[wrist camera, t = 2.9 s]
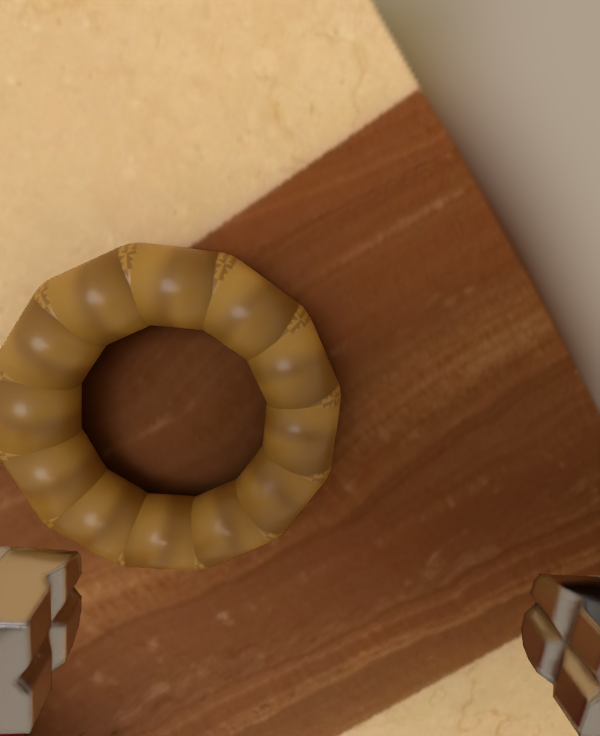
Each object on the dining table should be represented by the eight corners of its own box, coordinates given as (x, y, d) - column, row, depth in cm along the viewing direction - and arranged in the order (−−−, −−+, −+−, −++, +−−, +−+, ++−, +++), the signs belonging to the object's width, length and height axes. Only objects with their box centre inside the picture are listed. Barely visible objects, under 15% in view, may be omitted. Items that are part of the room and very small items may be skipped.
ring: (351, 267, 16) (366, 268, 14) (313, 547, 19) (320, 592, 16) (14, 228, 15) (-37, 222, 13) (24, 531, 18) (-16, 576, 15)
